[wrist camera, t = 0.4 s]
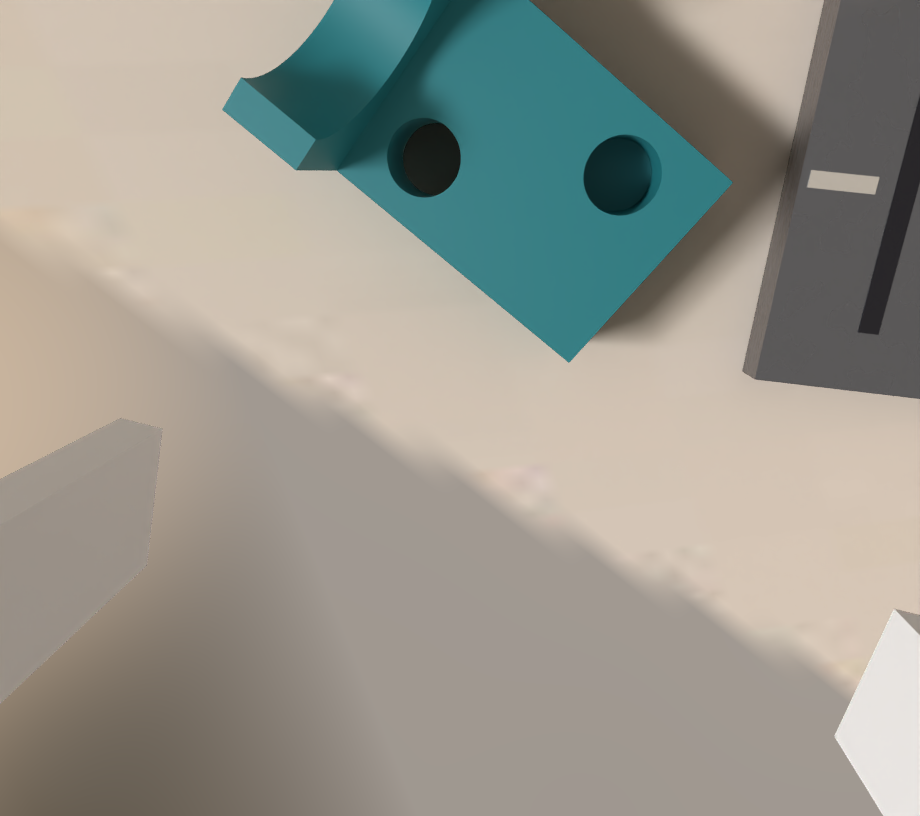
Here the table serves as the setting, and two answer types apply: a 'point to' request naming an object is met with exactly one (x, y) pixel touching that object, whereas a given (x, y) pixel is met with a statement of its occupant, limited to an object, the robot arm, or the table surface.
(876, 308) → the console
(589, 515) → the table surface
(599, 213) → the teal l-shaped bracket
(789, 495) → the table surface
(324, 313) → the table surface
